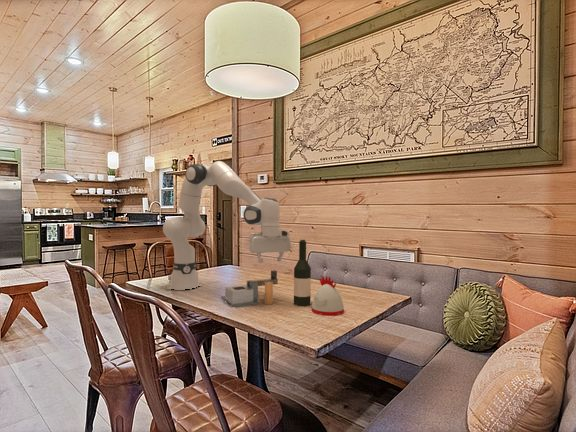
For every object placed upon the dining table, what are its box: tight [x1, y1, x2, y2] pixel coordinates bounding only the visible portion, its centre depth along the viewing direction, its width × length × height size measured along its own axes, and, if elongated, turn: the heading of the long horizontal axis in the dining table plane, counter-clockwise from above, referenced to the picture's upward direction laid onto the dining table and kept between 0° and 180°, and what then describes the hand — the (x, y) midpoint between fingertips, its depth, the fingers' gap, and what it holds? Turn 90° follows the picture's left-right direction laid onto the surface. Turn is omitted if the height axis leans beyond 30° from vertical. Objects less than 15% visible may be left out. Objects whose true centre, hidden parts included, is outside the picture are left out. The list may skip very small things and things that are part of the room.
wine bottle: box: [293, 239, 312, 307], centre depth 160 cm, size 8×8×30 cm
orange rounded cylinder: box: [264, 282, 274, 306], centre depth 160 cm, size 4×4×10 cm
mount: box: [220, 279, 261, 308], centre depth 164 cm, size 18×13×10 cm
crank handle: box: [248, 269, 279, 287], centre depth 166 cm, size 3×14×6 cm, turn 118°
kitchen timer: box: [311, 275, 345, 317], centre depth 149 cm, size 14×14×15 cm
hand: (270, 261), depth 161 cm, fingers open, 8 cm apart
